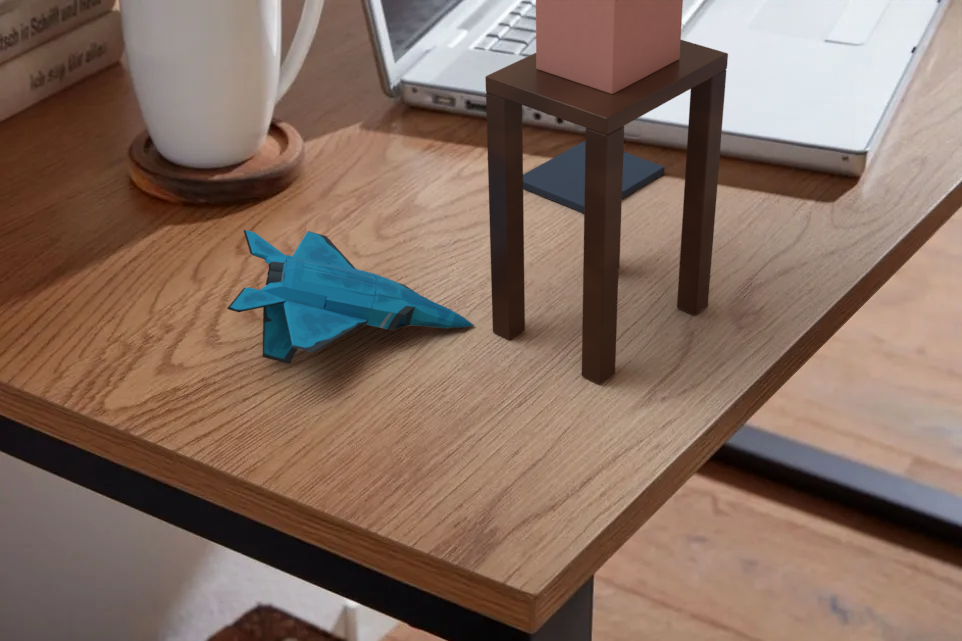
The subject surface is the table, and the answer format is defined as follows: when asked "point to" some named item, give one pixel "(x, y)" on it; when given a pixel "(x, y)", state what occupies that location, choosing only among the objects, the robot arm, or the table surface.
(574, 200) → the mat
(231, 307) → the toy airplane
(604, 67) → the pink block
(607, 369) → the wooden stool
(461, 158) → the table surface
